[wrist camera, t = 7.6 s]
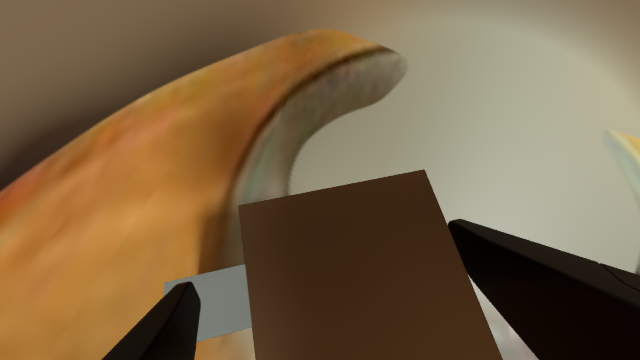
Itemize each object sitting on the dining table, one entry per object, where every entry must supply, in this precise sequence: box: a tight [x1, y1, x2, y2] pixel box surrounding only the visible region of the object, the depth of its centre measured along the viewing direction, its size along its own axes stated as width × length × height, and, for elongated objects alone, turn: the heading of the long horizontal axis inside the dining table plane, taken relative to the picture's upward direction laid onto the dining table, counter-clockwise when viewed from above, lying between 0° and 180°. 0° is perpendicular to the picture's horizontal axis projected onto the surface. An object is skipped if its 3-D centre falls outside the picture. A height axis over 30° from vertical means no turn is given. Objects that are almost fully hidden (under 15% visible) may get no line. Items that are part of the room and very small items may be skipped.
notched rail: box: [164, 264, 252, 342], centre depth 14 cm, size 3×16×4 cm, turn 103°
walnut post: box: [239, 170, 503, 360], centre depth 10 cm, size 4×4×12 cm
